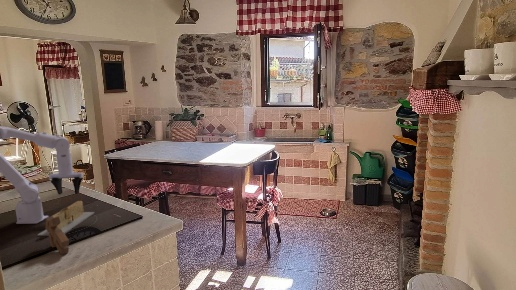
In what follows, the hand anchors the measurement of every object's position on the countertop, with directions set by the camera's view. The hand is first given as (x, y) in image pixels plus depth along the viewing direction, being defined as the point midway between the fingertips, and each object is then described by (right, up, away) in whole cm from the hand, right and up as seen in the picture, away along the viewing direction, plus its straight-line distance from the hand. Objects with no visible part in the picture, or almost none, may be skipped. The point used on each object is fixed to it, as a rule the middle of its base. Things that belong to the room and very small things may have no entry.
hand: (68, 193), depth 158 cm
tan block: (+6, -10, -7) cm, 13 cm away
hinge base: (+5, -11, -15) cm, 19 cm away
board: (+6, -11, -11) cm, 16 cm away
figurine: (+15, -15, -34) cm, 40 cm away
